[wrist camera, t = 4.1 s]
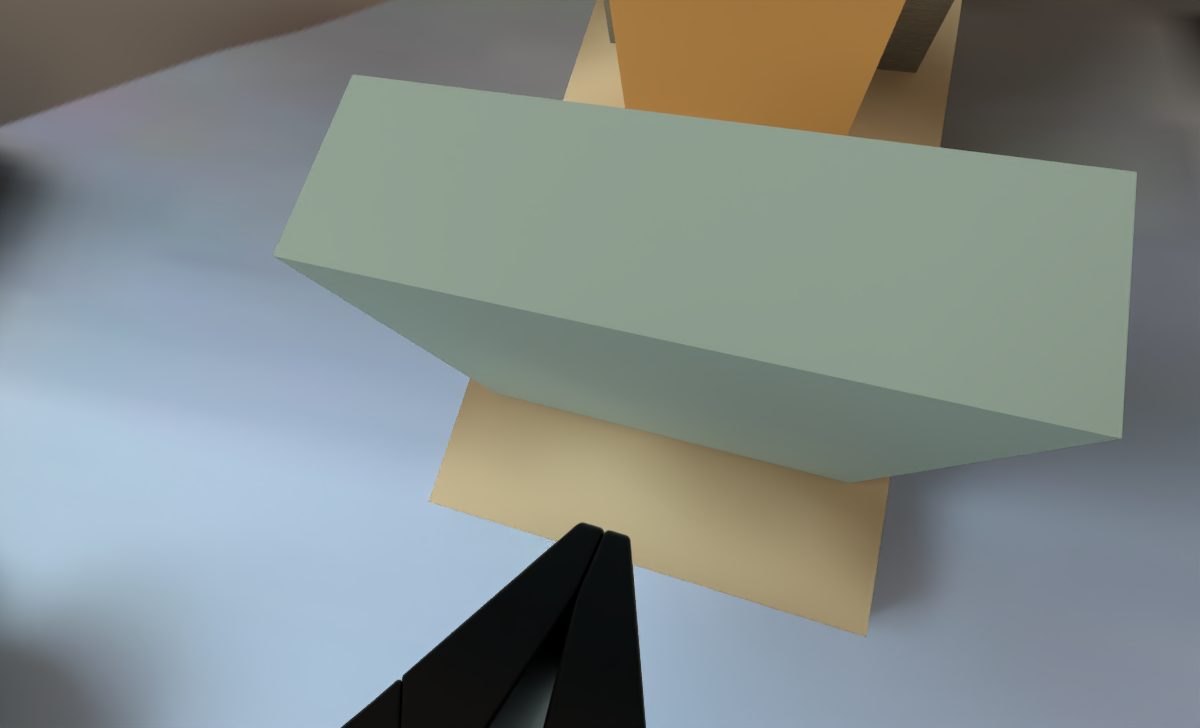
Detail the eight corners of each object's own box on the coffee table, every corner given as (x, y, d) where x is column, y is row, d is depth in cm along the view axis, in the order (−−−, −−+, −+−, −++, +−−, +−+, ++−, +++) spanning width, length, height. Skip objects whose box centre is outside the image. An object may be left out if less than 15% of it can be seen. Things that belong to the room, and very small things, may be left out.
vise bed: (848, 624, 14) (866, 636, 13) (450, 502, 17) (428, 501, 16) (942, 26, 19) (964, -14, 17) (613, 0, 21) (608, -37, 20)
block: (824, 188, 16) (921, -37, 10) (632, 160, 17) (600, -56, 11) (840, 105, 17) (943, -160, 10) (655, 84, 18) (637, -164, 11)
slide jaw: (849, 482, 14) (1121, 438, 5) (495, 393, 16) (272, 256, 7) (868, 372, 14) (1137, 172, 6) (525, 300, 17) (352, 74, 8)
